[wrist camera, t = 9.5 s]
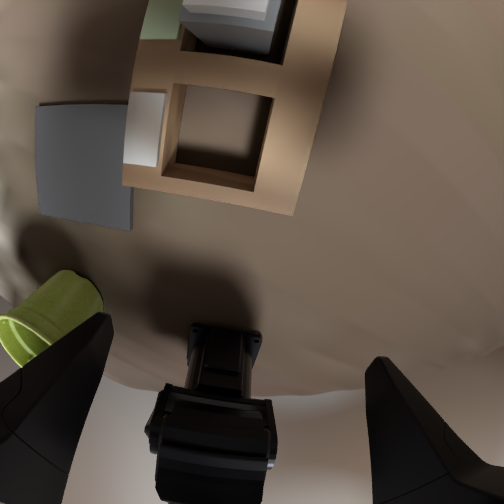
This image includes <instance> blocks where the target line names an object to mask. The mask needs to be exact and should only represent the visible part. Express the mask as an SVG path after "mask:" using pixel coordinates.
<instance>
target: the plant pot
mask: <svg viewBox="0 0 504 504" xmlns="http://www.w3.org/2000/svg"><path fill="white" fill-rule="evenodd" d="M102 311H103V301H102V298H101V296H100V294H99V292H98V291H97V289H96V288H95V287H94V285H93V284H92V283H91V282H90V281H89V280H87V279H85V278H82V277H80V276H78V275H77V274H76V273H75V272H74V271H71V270H61V271H59V272H57V273H56V274H55V275H54V276H52V277H51V278H50V279H49V280H48V281H46V282H45V283H44V284H43V285H42V286H41V287H39V288H38V289H37V290H36V291H35V292H34V293H33V294H31V295H30V296H29V297H28V298H27V299H26V300H24V301H23V302H22V303H21V304H20V305H19V306H18V307H16V308H13V309H11V310H10V311H9V312H8V313H7V314H0V342H1V344H2V345H3V347H4V348H5V350H6V351H7V352H8V354H9V355H10V356H11V357H12V358H13V360H14V361H15V362H16V363H17V364H18V365H19V366H20V367H21V368H22V367H23V365H25V364H26V363H27V362H29V361H30V360H31V359H33V358H34V357H36V356H37V355H38V354H40V353H41V352H42V351H44V350H45V349H46V348H48V347H49V346H50V345H52V344H53V343H55V342H56V341H57V340H59V339H60V338H61V337H63V336H64V335H66V334H67V333H68V332H70V331H71V330H73V329H74V328H75V327H77V326H78V325H80V324H81V323H83V322H84V321H85V320H87V319H88V318H90V317H91V316H93V315H94V314H95V313H97V312H102Z"/></svg>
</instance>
